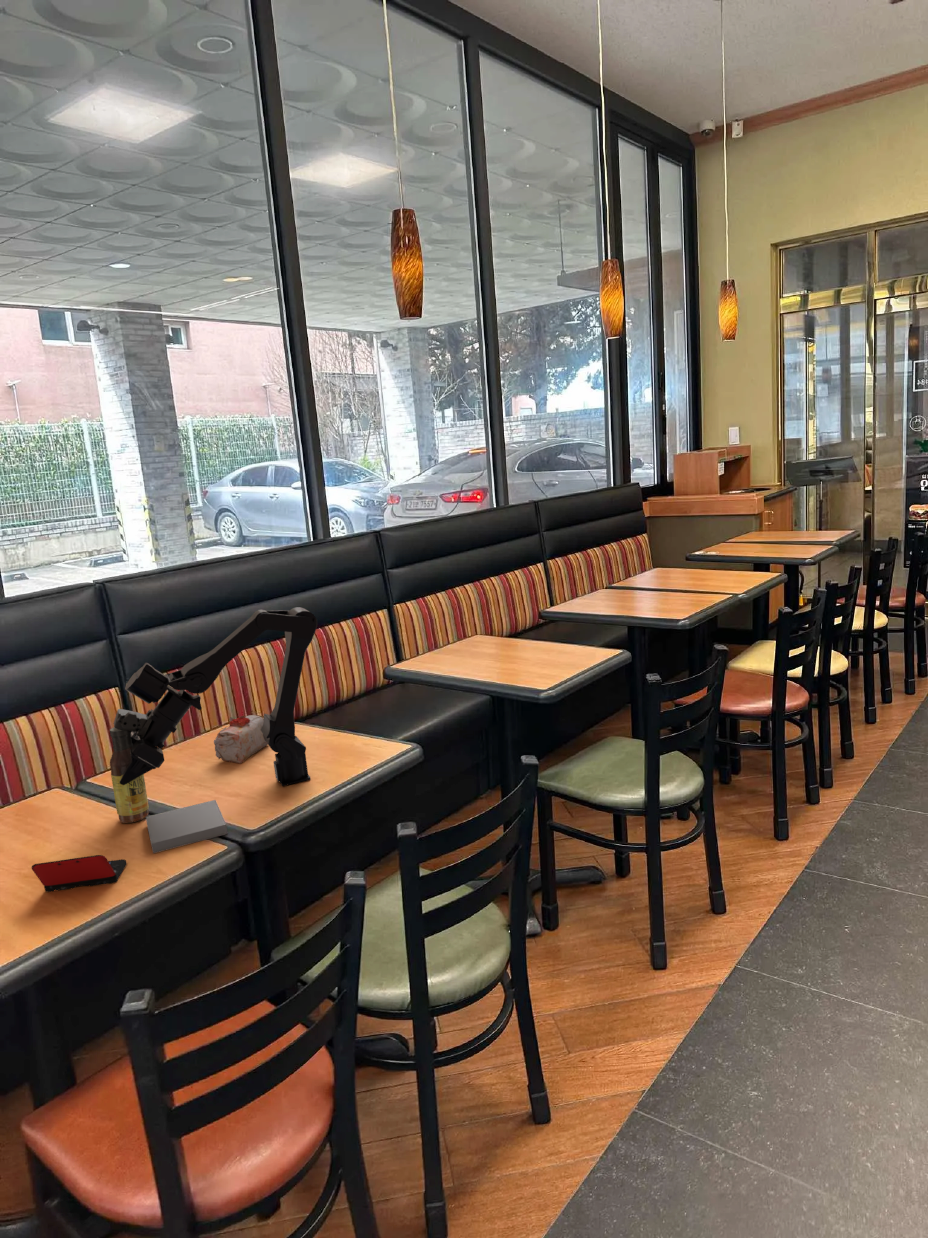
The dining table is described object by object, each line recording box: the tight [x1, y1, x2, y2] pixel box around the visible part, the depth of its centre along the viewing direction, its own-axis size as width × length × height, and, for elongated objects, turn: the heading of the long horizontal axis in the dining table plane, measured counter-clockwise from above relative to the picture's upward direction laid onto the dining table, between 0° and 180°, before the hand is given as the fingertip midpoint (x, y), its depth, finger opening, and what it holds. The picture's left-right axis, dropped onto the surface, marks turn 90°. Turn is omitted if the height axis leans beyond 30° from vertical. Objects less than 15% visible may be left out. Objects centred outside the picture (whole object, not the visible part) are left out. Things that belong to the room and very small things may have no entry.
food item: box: [213, 714, 269, 764], centre depth 207 cm, size 14×8×10 cm, turn 161°
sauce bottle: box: [109, 727, 150, 824], centre depth 173 cm, size 7×6×20 cm
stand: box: [145, 799, 229, 854], centre depth 167 cm, size 14×14×2 cm
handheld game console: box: [30, 854, 128, 893], centre depth 149 cm, size 12×11×7 cm
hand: (120, 776), depth 173 cm, fingers open, 9 cm apart
